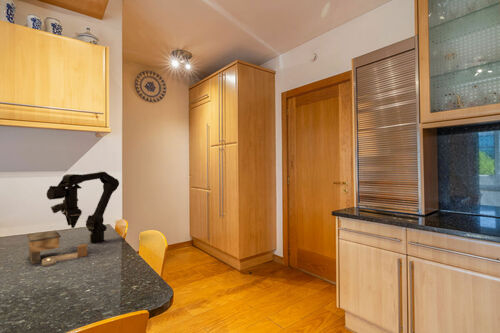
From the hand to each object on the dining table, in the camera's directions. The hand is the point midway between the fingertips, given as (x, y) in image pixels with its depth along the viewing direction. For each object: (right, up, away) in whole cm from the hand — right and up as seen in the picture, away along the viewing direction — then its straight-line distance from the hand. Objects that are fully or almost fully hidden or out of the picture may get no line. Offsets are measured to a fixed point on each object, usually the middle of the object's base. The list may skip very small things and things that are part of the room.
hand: (71, 226), depth 135 cm
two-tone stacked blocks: (+8, -12, -14) cm, 20 cm away
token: (+5, -12, -22) cm, 25 cm away
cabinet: (-4, -12, -13) cm, 18 cm away
